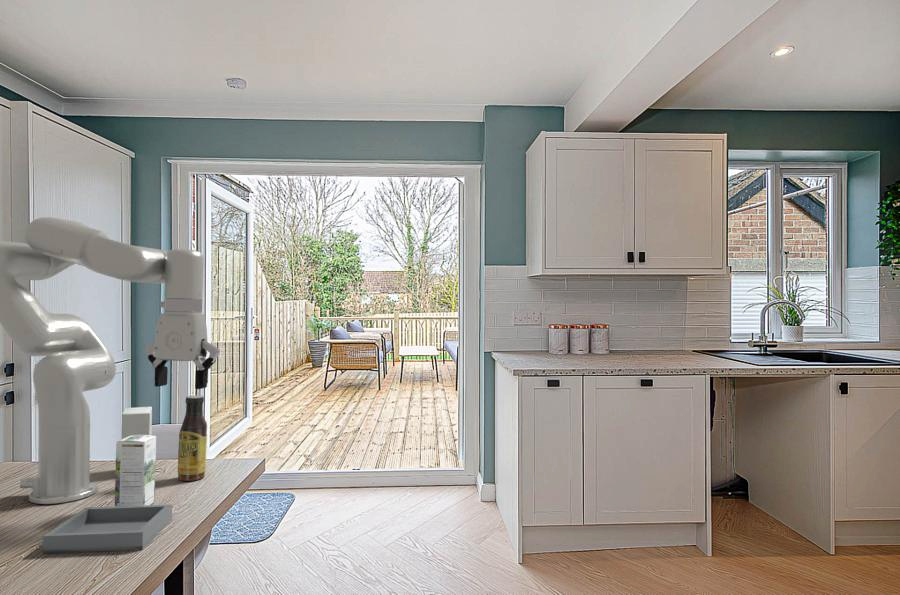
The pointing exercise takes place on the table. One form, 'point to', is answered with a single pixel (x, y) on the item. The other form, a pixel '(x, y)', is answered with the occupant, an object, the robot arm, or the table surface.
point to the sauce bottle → (192, 441)
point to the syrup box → (135, 471)
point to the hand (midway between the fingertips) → (180, 387)
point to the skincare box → (136, 421)
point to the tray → (108, 529)
